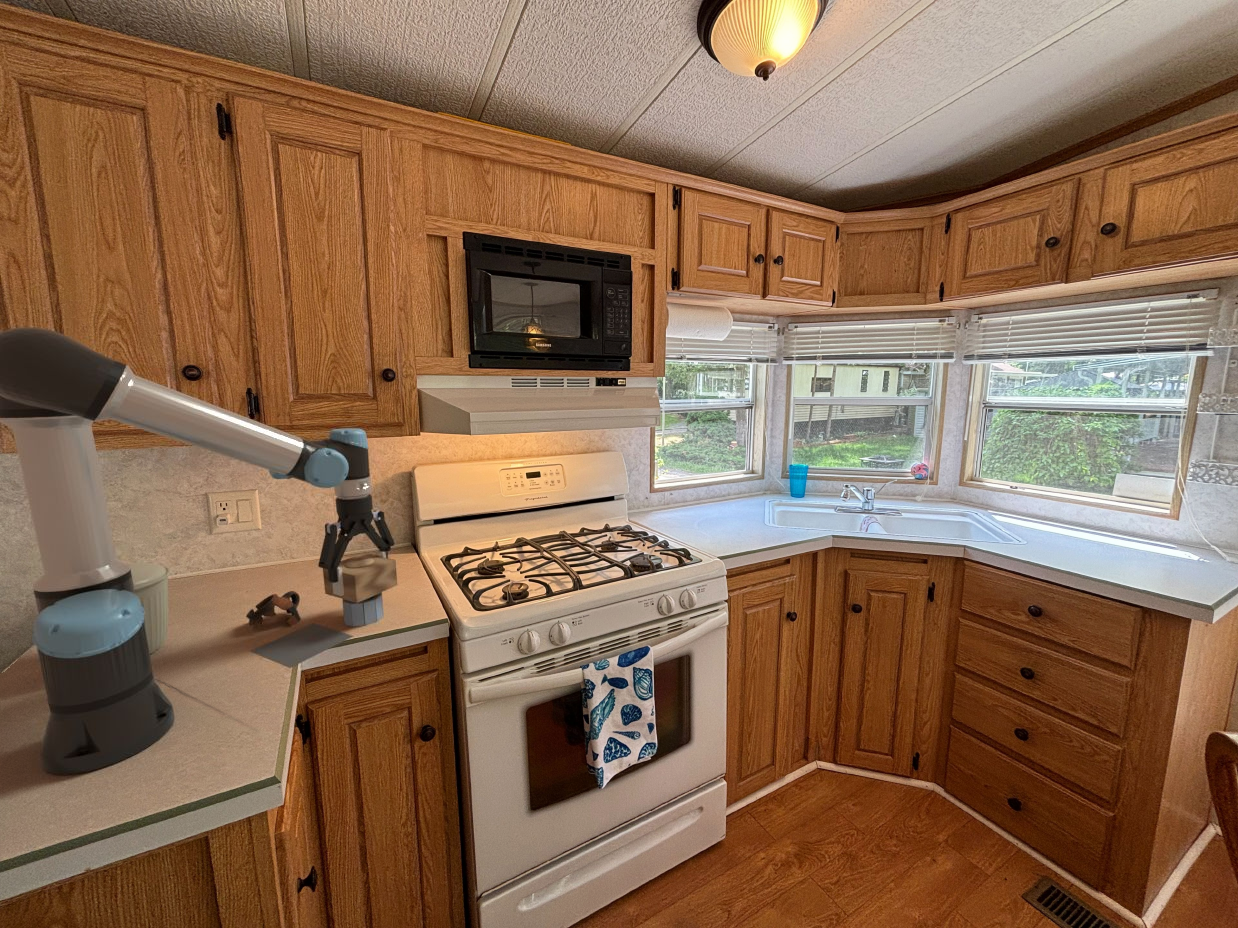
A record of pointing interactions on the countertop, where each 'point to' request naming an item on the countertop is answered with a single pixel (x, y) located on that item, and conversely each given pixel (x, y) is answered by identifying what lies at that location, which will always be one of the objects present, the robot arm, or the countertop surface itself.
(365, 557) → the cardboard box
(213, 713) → the countertop surface
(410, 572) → the countertop surface
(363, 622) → the faceted blue cup
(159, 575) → the canister
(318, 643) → the mat
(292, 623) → the brown jointed arch
